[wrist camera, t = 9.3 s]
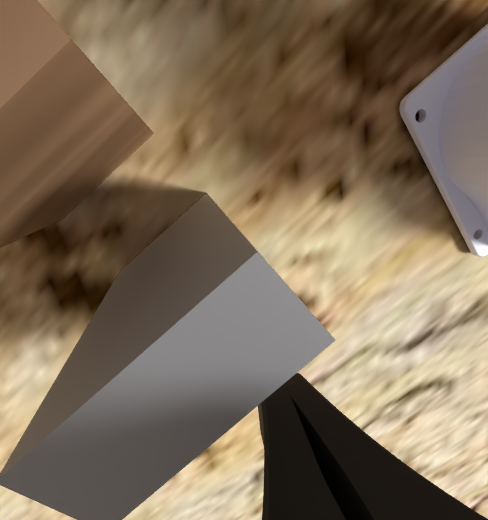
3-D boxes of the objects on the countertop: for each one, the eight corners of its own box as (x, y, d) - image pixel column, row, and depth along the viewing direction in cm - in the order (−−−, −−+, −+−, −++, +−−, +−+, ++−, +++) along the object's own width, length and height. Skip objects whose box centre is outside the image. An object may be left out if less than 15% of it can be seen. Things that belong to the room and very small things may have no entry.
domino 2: (236, 227, 13) (335, 340, 5) (154, 301, 13) (106, 532, 5) (206, 192, 12) (257, 251, 4) (119, 270, 13) (-6, 482, 4)
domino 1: (153, 133, 11) (71, 40, 3) (60, 220, 12) (-265, 366, 3) (112, 86, 11) (-157, -221, 2) (14, 180, 11) (-569, 230, 2)
